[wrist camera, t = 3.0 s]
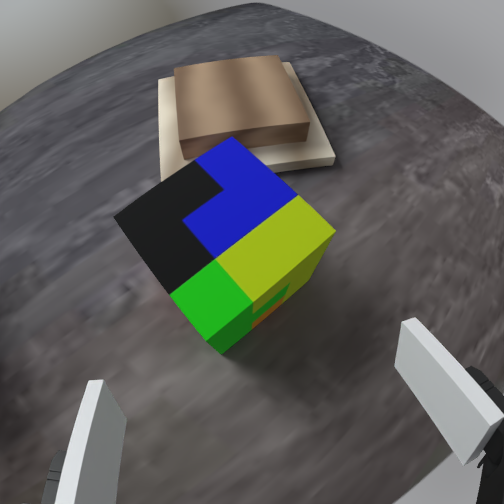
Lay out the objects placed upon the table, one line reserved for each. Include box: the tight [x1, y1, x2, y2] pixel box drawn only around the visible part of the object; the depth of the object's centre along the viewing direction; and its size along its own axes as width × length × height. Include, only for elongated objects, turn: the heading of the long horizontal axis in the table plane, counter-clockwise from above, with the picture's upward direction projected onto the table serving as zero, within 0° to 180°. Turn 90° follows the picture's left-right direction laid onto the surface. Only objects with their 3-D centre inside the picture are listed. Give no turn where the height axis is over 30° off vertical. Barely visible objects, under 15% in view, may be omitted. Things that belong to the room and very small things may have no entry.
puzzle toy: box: [114, 136, 336, 355], centre depth 24 cm, size 10×10×10 cm
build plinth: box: [158, 55, 335, 182], centre depth 34 cm, size 18×18×4 cm
